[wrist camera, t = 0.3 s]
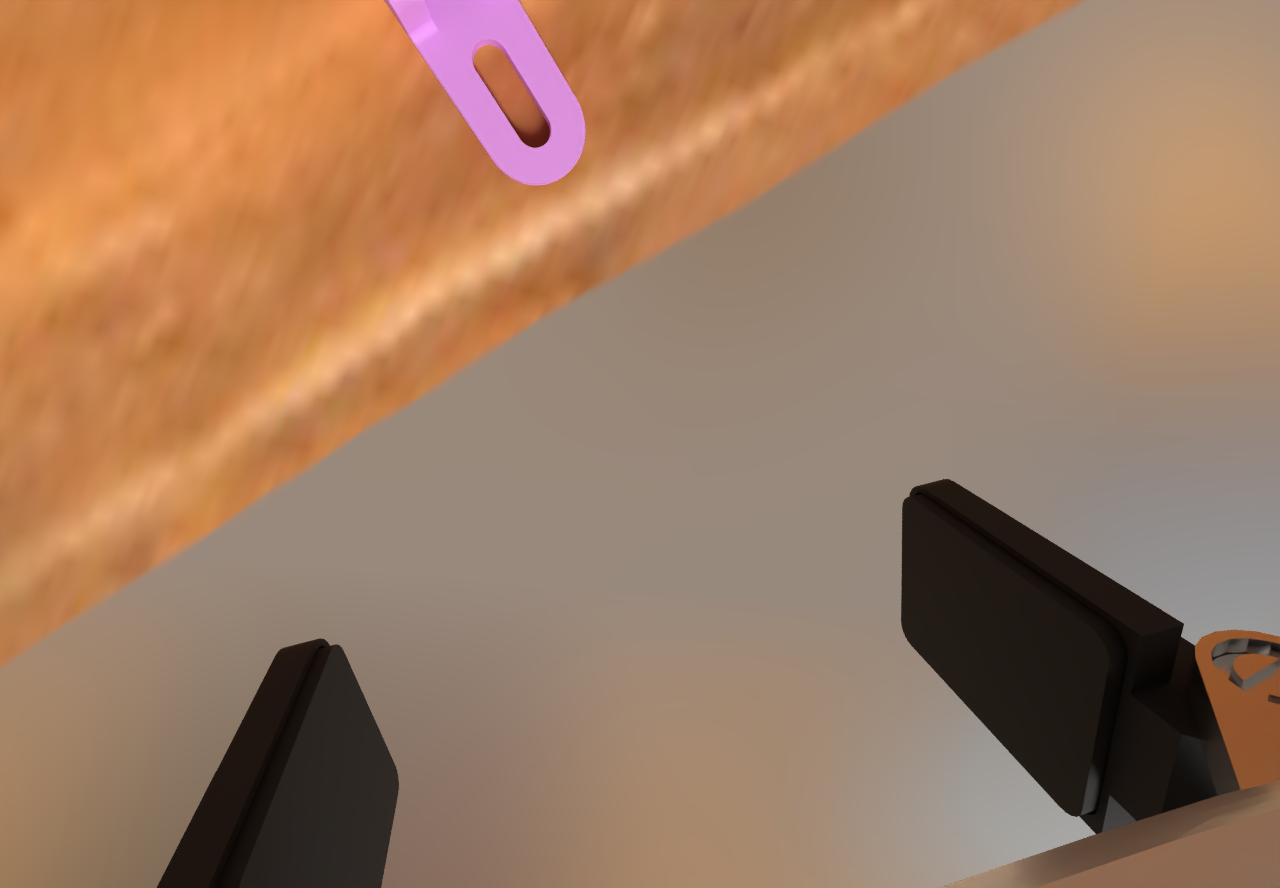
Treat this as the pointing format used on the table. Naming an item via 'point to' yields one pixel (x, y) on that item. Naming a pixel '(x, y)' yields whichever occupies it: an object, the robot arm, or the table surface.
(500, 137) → the bracket
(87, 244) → the table surface
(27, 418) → the table surface
